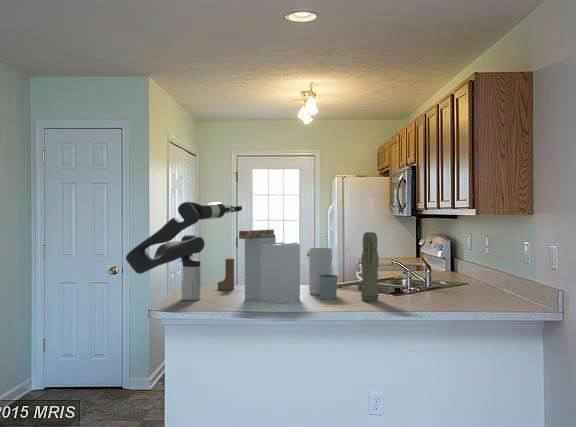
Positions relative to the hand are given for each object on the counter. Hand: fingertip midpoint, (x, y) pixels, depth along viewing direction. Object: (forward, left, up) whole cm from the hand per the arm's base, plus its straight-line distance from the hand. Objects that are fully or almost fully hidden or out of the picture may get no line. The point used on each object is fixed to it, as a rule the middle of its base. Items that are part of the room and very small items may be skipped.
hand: (234, 208), depth 280 cm
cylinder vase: (+48, -29, -48) cm, 74 cm away
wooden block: (+42, +27, -48) cm, 69 cm away
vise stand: (+19, -12, -47) cm, 52 cm away
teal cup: (+34, -38, -48) cm, 70 cm away
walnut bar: (+18, -4, -15) cm, 24 cm away
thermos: (+35, -60, -48) cm, 84 cm away
